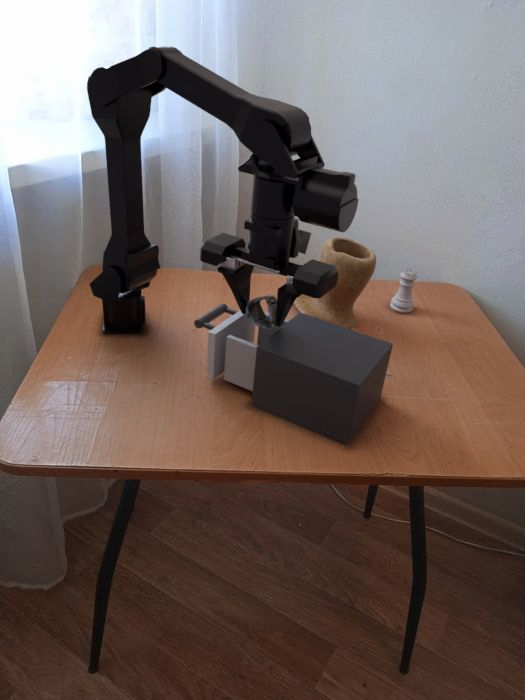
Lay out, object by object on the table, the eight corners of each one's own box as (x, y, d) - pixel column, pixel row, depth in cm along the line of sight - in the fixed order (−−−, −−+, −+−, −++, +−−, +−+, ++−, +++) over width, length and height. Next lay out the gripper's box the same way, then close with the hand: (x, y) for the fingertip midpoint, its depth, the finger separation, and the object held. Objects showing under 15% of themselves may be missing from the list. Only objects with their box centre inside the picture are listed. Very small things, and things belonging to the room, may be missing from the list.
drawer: (183, 368, 84) (184, 322, 80) (226, 338, 93) (228, 295, 89) (287, 411, 77) (293, 364, 73) (322, 374, 86) (329, 330, 82)
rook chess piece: (415, 308, 111) (424, 271, 107) (407, 316, 108) (417, 278, 104) (394, 301, 113) (402, 264, 109) (386, 309, 110) (394, 271, 106)
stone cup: (374, 334, 100) (391, 256, 93) (312, 339, 97) (325, 258, 89) (339, 297, 113) (352, 224, 105) (284, 300, 109) (292, 226, 101)
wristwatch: (269, 330, 83) (255, 299, 82) (288, 321, 78) (272, 288, 78) (253, 337, 81) (239, 306, 81) (271, 328, 77) (256, 295, 76)
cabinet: (251, 405, 79) (256, 346, 74) (292, 366, 89) (299, 312, 84) (346, 446, 74) (359, 385, 69) (379, 399, 83) (393, 343, 78)
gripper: (363, 215, 75) (343, 318, 83) (244, 185, 82) (237, 282, 90) (328, 236, 66) (310, 349, 74) (199, 201, 73) (196, 307, 82)
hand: (262, 319), depth 80 cm, fingers closed on wristwatch, 5 cm apart
